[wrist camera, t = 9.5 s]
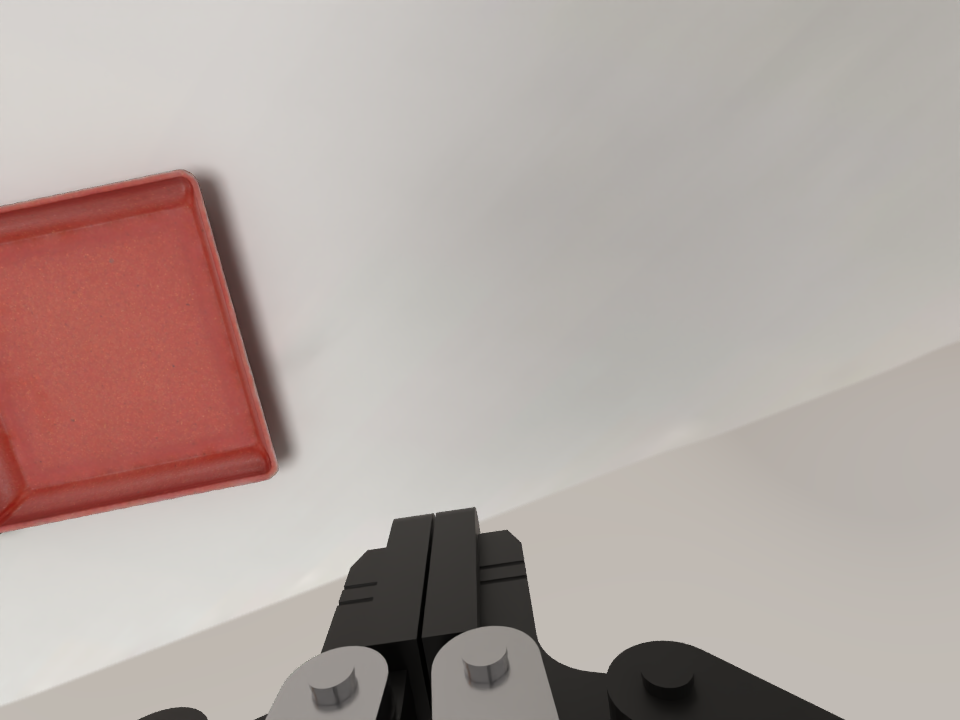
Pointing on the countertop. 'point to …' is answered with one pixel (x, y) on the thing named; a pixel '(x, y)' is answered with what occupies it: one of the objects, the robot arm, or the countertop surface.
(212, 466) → the plant saucer
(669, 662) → the robot arm
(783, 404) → the countertop surface
